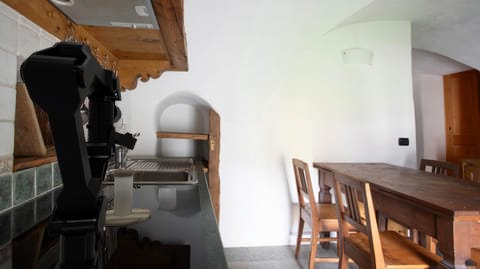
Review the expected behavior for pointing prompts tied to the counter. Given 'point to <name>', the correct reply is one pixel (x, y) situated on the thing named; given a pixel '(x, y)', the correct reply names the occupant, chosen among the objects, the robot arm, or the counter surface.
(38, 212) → the counter surface
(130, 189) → the translucent tall glass
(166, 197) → the grey upright block
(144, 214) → the wooden board
